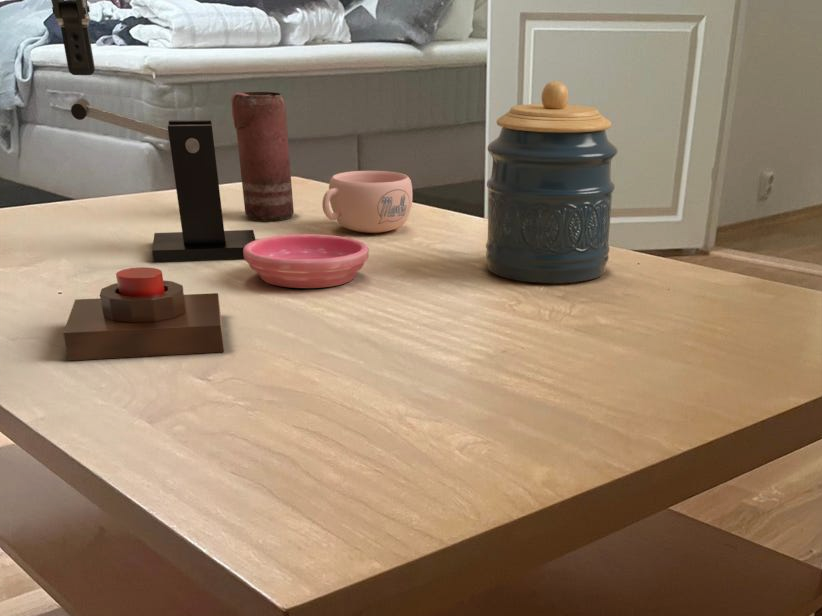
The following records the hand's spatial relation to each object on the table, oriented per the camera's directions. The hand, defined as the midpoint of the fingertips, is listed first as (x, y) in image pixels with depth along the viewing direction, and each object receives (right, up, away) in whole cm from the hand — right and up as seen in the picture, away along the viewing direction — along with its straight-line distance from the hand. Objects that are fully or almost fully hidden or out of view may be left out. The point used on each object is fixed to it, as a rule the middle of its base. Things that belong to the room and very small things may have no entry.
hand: (82, 74), depth 91 cm
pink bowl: (+19, -15, +11) cm, 26 cm away
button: (+8, -23, -9) cm, 26 cm away
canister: (+43, -13, +15) cm, 48 cm away
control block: (+8, -26, -7) cm, 28 cm away
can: (+9, +2, +37) cm, 38 cm away
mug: (+22, -2, +31) cm, 38 cm away
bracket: (+6, -8, +20) cm, 23 cm away
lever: (+1, 0, +13) cm, 13 cm away
